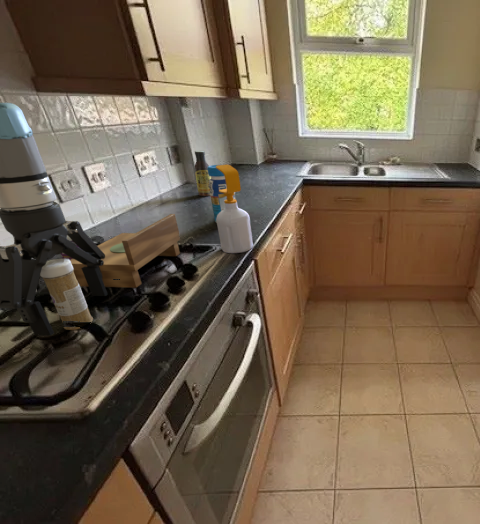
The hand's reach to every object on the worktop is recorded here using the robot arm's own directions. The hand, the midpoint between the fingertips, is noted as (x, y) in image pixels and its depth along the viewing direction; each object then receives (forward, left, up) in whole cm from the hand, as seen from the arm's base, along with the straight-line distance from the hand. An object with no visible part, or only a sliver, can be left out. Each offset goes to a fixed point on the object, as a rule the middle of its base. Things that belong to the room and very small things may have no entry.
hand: (74, 312), depth 64 cm
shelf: (-5, +25, -3) cm, 25 cm away
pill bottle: (-23, +29, -3) cm, 37 cm away
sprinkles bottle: (0, 0, -3) cm, 3 cm away
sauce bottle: (-20, +102, -3) cm, 104 cm away
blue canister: (+4, +65, -3) cm, 65 cm away
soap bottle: (+17, +40, -3) cm, 43 cm away
